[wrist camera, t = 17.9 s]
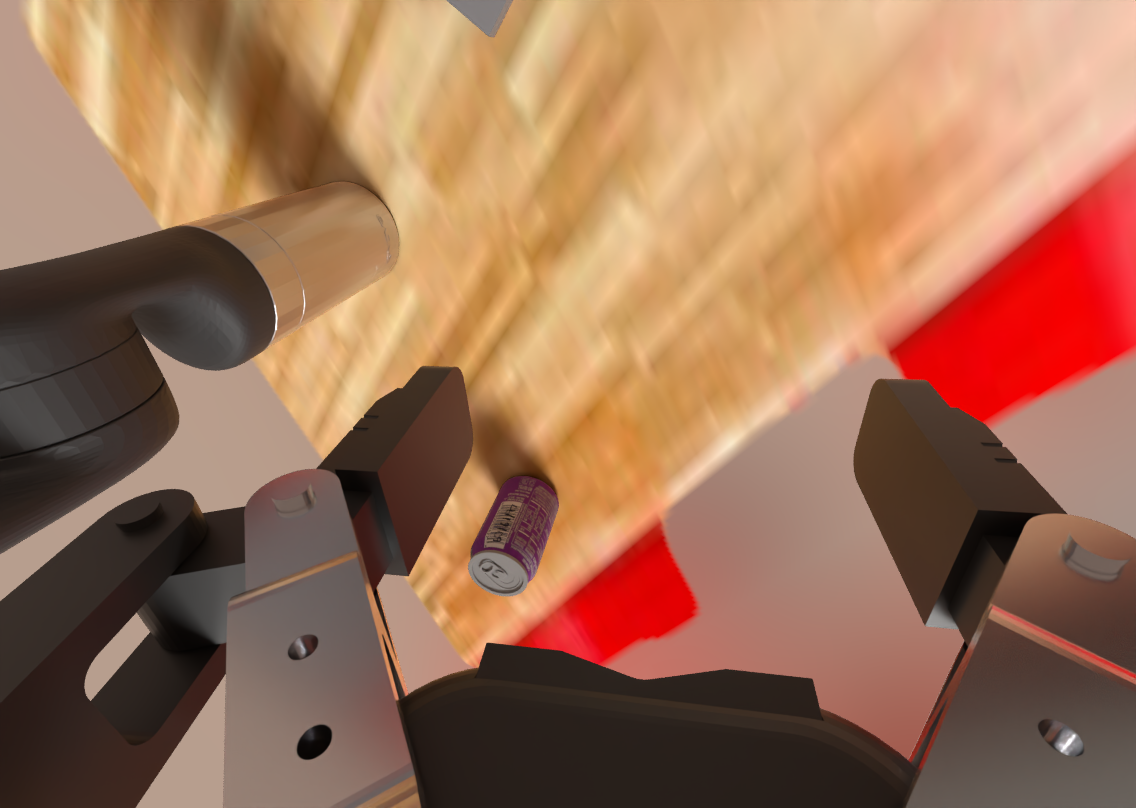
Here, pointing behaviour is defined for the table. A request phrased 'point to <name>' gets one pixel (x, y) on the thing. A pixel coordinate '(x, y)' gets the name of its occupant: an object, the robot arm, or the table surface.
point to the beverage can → (513, 536)
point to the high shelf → (483, 13)
